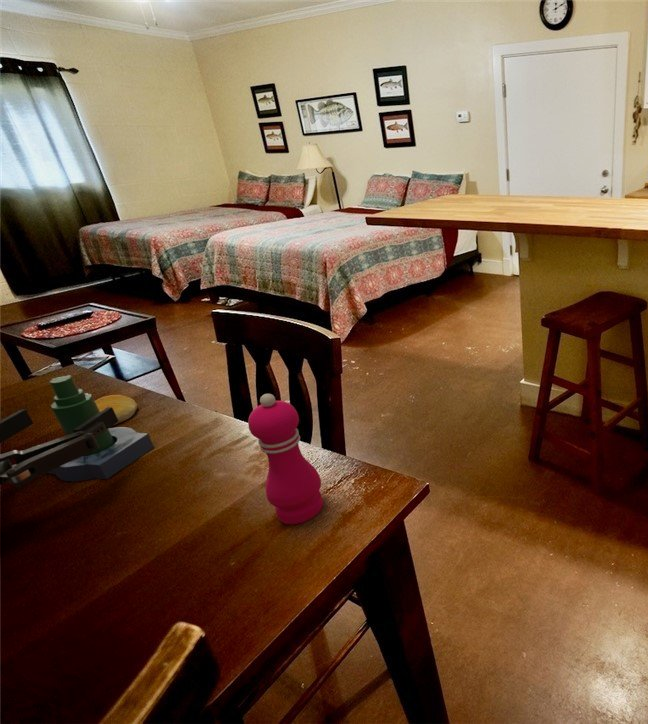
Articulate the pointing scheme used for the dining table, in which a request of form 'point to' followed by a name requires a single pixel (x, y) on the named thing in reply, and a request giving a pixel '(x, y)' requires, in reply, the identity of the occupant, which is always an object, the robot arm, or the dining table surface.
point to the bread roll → (118, 406)
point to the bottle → (76, 410)
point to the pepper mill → (285, 462)
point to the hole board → (107, 457)
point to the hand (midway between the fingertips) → (70, 415)
